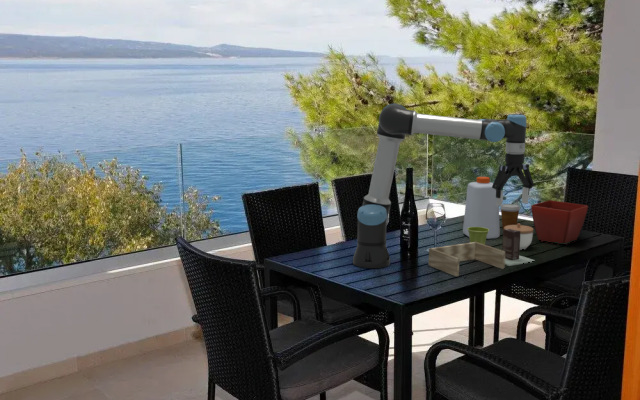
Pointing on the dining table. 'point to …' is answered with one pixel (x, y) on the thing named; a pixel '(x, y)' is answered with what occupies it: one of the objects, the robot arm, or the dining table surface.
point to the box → (511, 243)
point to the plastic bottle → (482, 207)
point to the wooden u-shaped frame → (464, 256)
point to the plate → (517, 261)
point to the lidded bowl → (523, 234)
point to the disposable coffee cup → (509, 214)
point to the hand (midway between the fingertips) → (512, 204)
